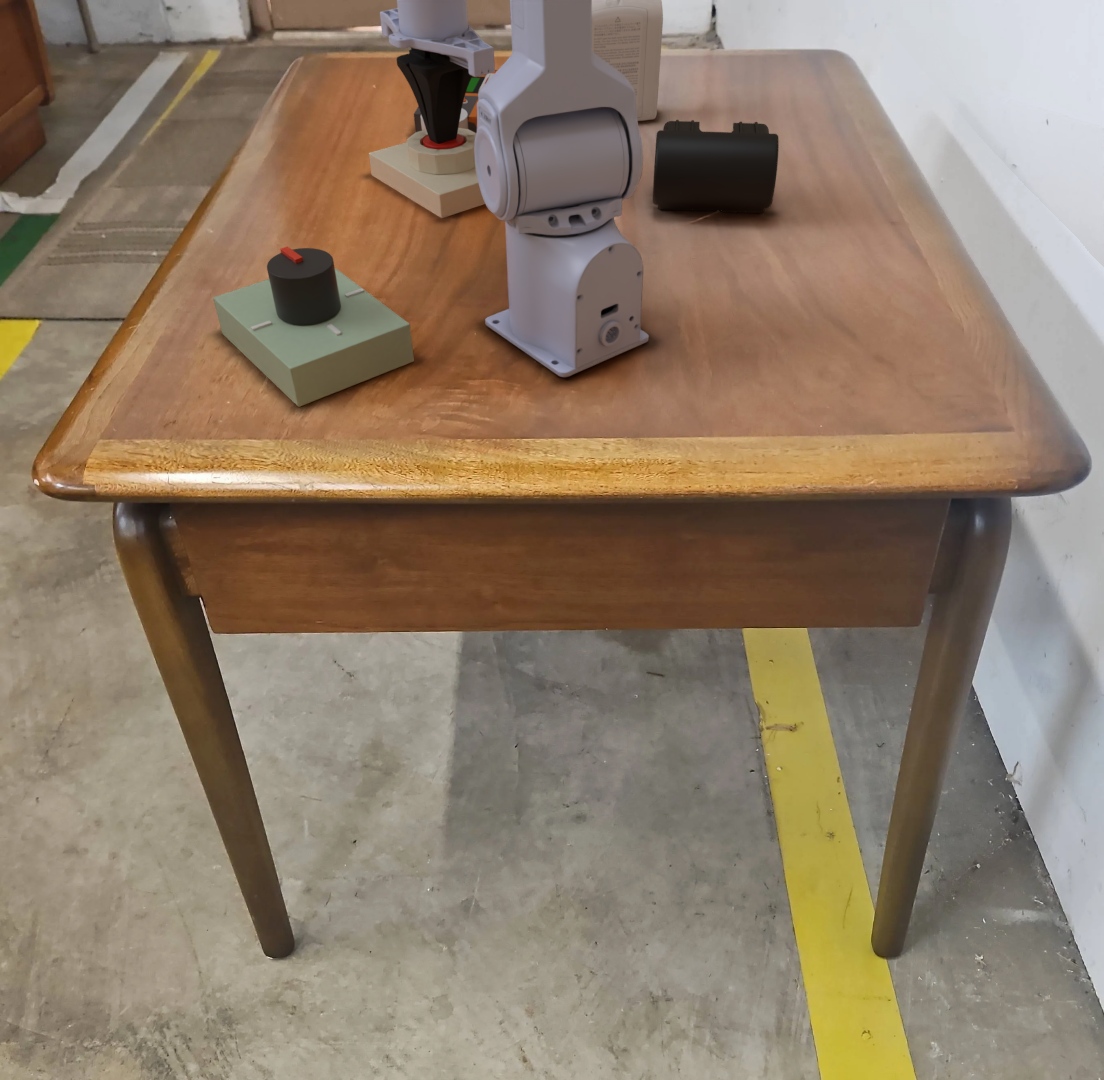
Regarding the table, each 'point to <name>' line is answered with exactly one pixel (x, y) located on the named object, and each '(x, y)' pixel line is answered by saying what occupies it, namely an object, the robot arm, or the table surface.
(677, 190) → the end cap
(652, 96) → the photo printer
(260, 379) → the table surface
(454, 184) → the button box
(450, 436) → the table surface
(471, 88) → the electronic device
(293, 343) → the dial panel
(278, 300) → the dial
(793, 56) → the table surface
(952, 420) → the table surface
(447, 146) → the power button
